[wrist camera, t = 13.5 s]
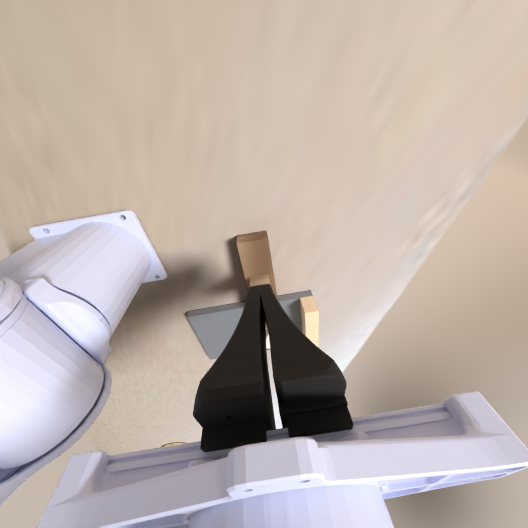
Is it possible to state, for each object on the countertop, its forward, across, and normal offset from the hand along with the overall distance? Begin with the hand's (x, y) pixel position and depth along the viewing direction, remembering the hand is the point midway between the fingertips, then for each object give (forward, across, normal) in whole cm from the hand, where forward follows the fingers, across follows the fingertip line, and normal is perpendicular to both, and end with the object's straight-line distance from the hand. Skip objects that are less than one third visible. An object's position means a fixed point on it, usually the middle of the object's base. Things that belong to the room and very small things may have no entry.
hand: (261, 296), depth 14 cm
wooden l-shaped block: (+9, 0, +5) cm, 10 cm away
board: (+9, +2, +15) cm, 18 cm away
